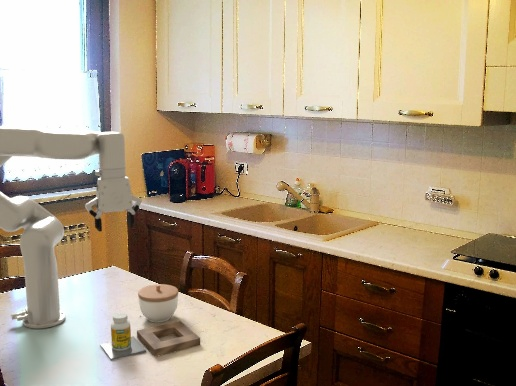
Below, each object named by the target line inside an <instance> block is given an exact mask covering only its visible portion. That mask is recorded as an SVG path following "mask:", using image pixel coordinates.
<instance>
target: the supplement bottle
mask: <svg viewBox="0 0 516 386" xmlns="http://www.w3.org/2000/svg"><path fill="white" fill-rule="evenodd" d="M128 319H129V318H128V313H126V312H118V313H115V314H113V315H112V322H111V324H110V335H111V341H112V348H113V349H114V350H116V351H124V350H127V349H129V348H130V347H131V337H132V336H131V334H132V332H131V331H132V330H131V323H130V321H129V320H128Z"/></svg>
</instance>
